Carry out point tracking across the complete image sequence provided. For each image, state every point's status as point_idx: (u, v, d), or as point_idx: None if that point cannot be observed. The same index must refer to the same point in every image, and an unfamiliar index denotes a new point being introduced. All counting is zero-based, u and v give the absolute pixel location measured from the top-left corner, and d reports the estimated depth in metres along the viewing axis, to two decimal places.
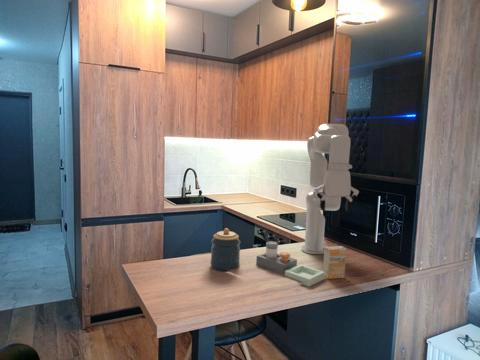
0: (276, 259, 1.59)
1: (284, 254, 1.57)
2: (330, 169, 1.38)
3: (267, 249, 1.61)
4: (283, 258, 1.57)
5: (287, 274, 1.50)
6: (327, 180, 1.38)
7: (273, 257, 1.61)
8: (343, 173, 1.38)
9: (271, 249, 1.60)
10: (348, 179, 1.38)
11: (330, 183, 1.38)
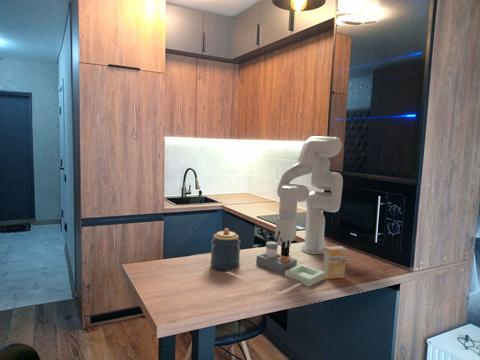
0: (276, 259, 1.59)
1: None
2: (285, 218, 1.52)
3: (267, 249, 1.61)
4: (283, 259, 1.57)
5: (287, 274, 1.50)
6: (284, 228, 1.52)
7: (273, 257, 1.61)
8: (293, 219, 1.55)
9: (271, 249, 1.60)
10: None
11: (286, 230, 1.52)
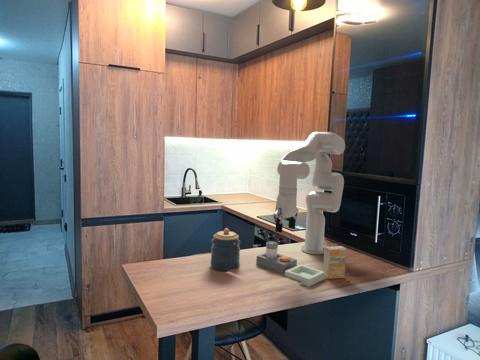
0: (276, 259, 1.59)
1: (284, 258, 1.57)
2: (285, 194, 1.52)
3: (267, 249, 1.61)
4: None
5: (287, 274, 1.50)
6: (284, 204, 1.51)
7: (273, 257, 1.61)
8: (294, 196, 1.55)
9: (271, 249, 1.60)
10: None
11: (286, 207, 1.52)
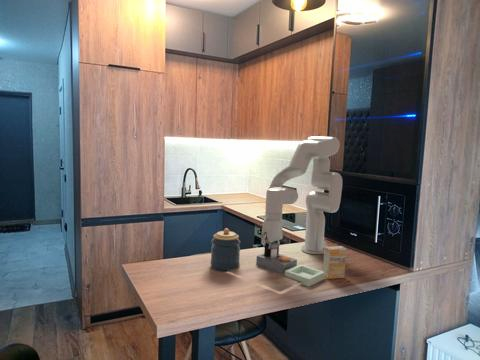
0: (276, 259, 1.59)
1: (284, 258, 1.57)
2: (271, 219, 1.58)
3: None
4: None
5: (287, 274, 1.50)
6: (270, 229, 1.57)
7: (273, 257, 1.61)
8: (279, 221, 1.61)
9: (271, 249, 1.60)
10: (281, 225, 1.63)
11: (272, 231, 1.58)
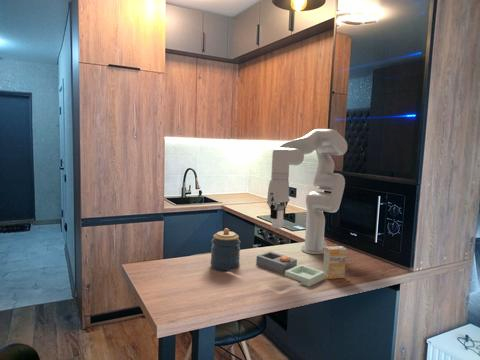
0: (276, 259, 1.59)
1: (284, 258, 1.57)
2: (277, 179, 1.54)
3: None
4: None
5: (287, 274, 1.50)
6: (276, 189, 1.54)
7: (279, 219, 1.57)
8: (286, 182, 1.57)
9: (277, 211, 1.57)
10: (288, 186, 1.59)
11: (278, 192, 1.54)
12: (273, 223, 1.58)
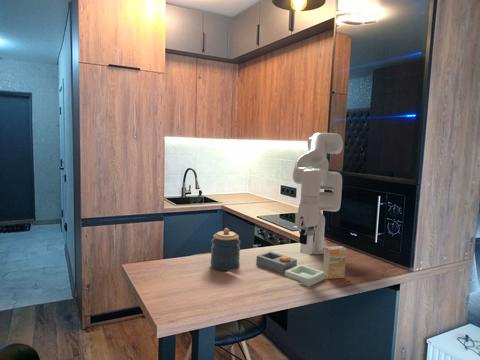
0: (276, 259, 1.59)
1: (284, 258, 1.57)
2: (308, 202, 1.44)
3: None
4: None
5: (287, 274, 1.50)
6: (307, 213, 1.44)
7: (309, 244, 1.47)
8: (316, 204, 1.47)
9: (307, 235, 1.47)
10: (318, 209, 1.49)
11: (309, 216, 1.44)
12: (302, 248, 1.48)
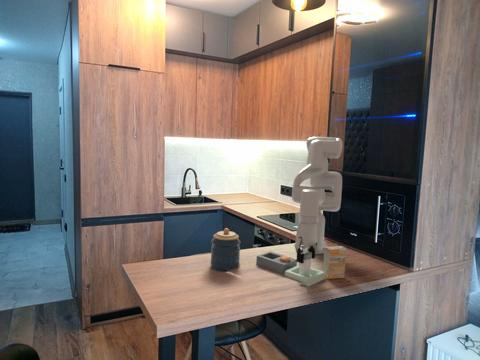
0: (276, 259, 1.59)
1: (284, 258, 1.57)
2: (307, 223, 1.45)
3: None
4: None
5: (287, 274, 1.50)
6: (306, 234, 1.45)
7: (307, 268, 1.49)
8: (315, 224, 1.48)
9: (305, 259, 1.48)
10: (317, 228, 1.51)
11: (308, 236, 1.46)
12: (301, 272, 1.50)
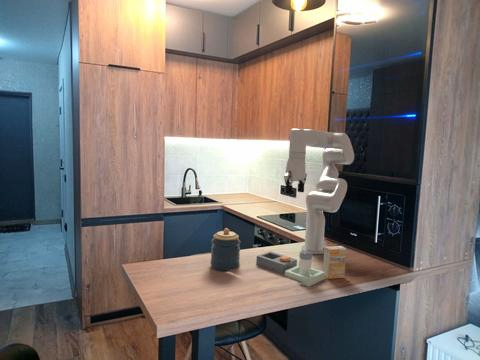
0: (276, 259, 1.59)
1: (284, 258, 1.57)
2: (295, 158, 1.62)
3: (301, 260, 1.49)
4: None
5: (287, 274, 1.50)
6: (294, 167, 1.61)
7: (307, 268, 1.49)
8: (303, 160, 1.65)
9: (305, 260, 1.48)
10: None
11: (296, 170, 1.62)
12: (301, 272, 1.50)
